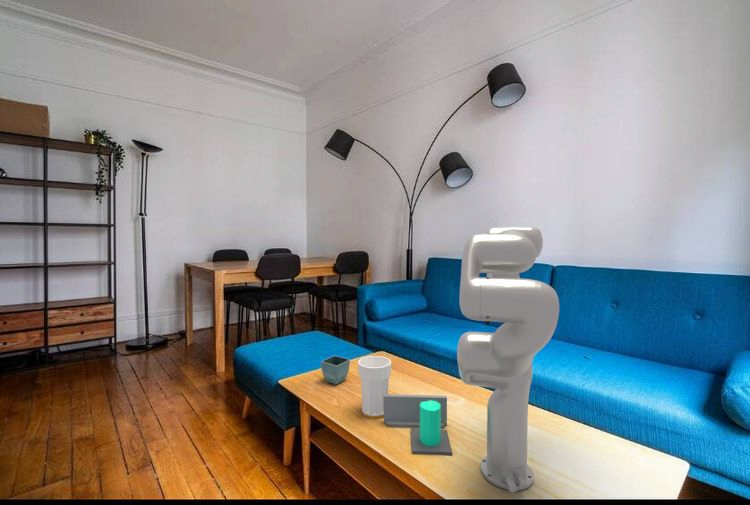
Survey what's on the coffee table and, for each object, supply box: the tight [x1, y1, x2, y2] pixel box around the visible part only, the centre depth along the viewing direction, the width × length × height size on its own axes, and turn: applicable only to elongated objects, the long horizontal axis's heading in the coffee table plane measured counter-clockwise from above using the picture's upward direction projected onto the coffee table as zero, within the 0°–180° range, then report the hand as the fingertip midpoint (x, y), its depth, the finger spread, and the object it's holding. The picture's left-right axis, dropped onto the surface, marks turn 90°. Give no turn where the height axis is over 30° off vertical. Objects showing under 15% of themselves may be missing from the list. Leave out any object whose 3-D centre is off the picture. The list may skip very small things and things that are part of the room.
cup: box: [357, 355, 392, 419], centre depth 119 cm, size 11×11×17 cm
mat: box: [410, 428, 453, 456], centre depth 102 cm, size 11×11×1 cm
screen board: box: [383, 393, 448, 430], centre depth 112 cm, size 5×20×9 cm, turn 86°
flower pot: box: [320, 355, 351, 385], centre depth 144 cm, size 9×9×9 cm
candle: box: [419, 400, 442, 446], centre depth 101 cm, size 6×6×12 cm
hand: (502, 323), depth 107 cm, fingers open, 9 cm apart
